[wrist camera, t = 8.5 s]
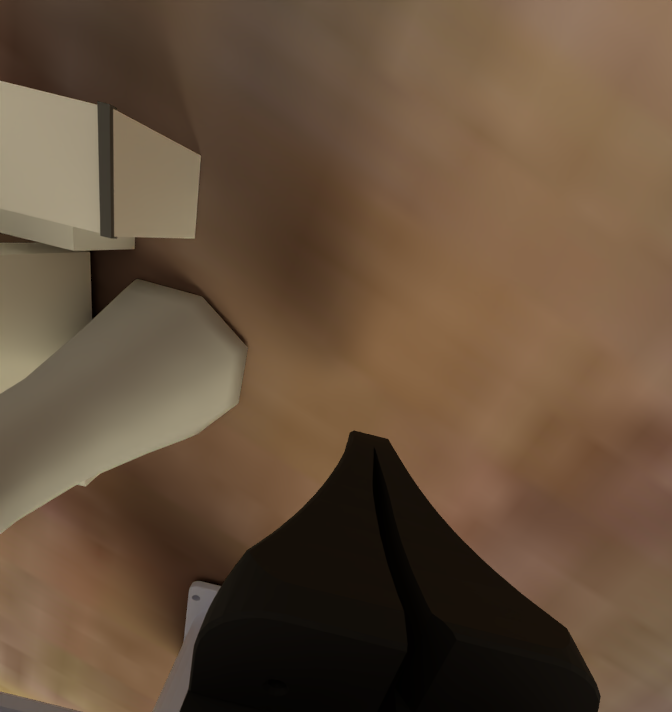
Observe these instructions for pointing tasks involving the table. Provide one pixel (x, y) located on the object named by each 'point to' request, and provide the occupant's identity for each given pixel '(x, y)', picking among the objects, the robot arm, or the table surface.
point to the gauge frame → (89, 175)
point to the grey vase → (116, 394)
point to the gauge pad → (39, 304)
